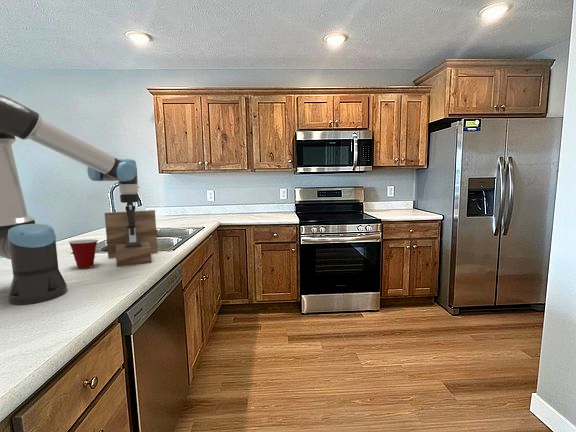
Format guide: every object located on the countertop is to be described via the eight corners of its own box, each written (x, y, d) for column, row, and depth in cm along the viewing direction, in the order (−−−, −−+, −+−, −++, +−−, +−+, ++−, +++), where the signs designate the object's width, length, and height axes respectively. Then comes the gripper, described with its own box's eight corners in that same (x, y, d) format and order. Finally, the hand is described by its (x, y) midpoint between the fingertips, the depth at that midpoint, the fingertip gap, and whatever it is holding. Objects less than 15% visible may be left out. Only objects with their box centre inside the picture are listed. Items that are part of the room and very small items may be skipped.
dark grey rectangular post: (141, 258, 144) (139, 233, 142) (127, 260, 141) (125, 234, 140) (141, 257, 146) (139, 232, 145) (127, 258, 144) (125, 233, 142)
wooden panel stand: (161, 261, 143) (158, 214, 140) (106, 268, 133) (101, 217, 130) (157, 251, 161) (154, 210, 158) (108, 257, 151) (104, 212, 148)
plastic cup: (106, 263, 140) (103, 237, 138) (88, 270, 129) (85, 242, 128) (84, 262, 141) (81, 237, 140) (64, 270, 130) (61, 242, 129)
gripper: (139, 194, 131) (142, 243, 133) (137, 192, 153) (140, 234, 155) (119, 195, 127) (123, 245, 130) (120, 192, 149) (123, 235, 152)
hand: (132, 239), depth 143 cm, fingers open, 13 cm apart
